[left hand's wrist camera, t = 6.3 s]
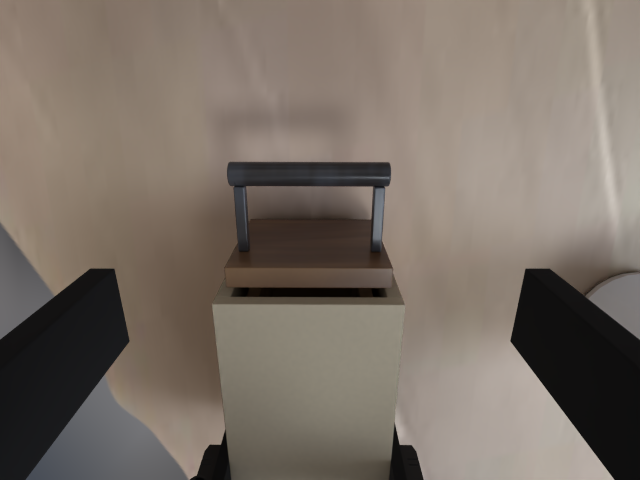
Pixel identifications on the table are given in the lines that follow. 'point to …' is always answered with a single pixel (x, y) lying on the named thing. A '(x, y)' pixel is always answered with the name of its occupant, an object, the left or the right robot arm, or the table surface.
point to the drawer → (309, 235)
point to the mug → (620, 300)
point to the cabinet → (309, 383)
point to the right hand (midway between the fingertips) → (311, 414)
